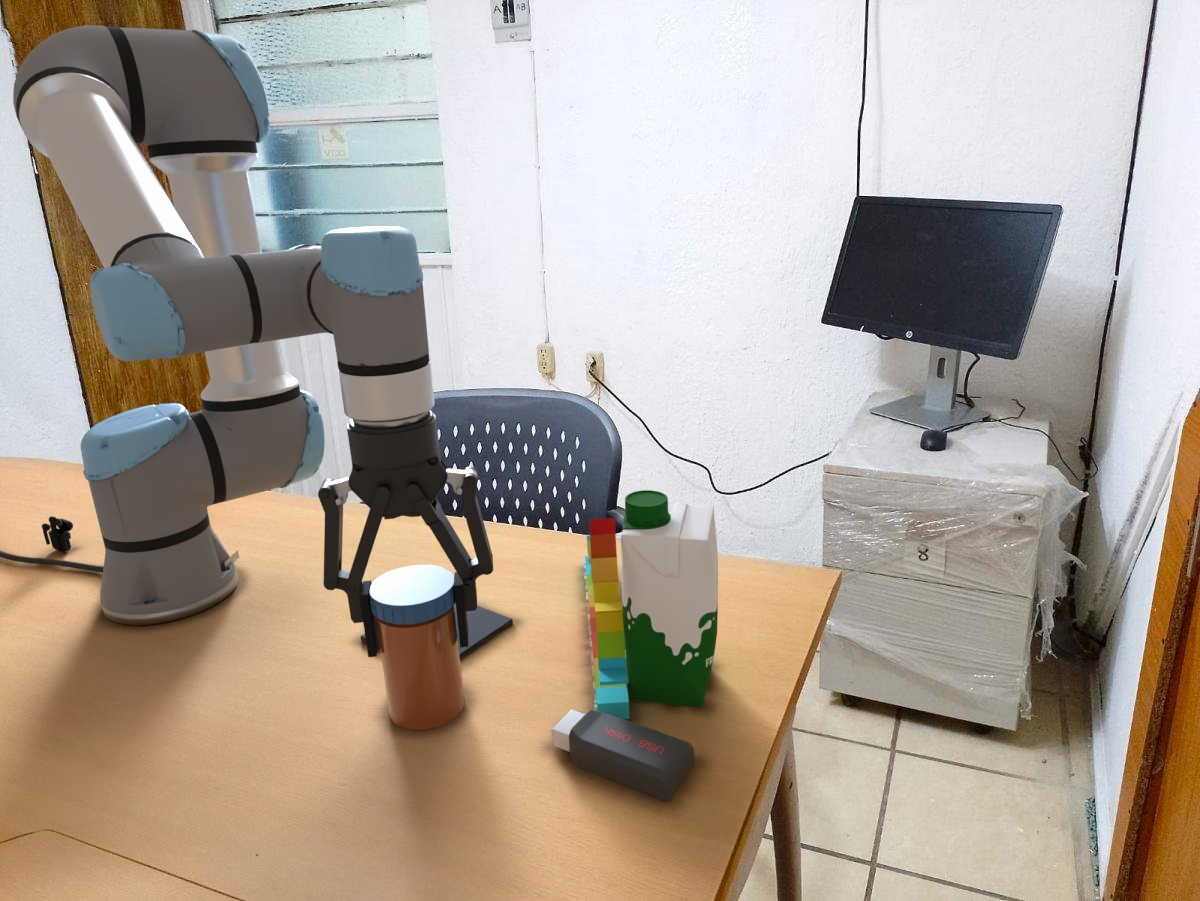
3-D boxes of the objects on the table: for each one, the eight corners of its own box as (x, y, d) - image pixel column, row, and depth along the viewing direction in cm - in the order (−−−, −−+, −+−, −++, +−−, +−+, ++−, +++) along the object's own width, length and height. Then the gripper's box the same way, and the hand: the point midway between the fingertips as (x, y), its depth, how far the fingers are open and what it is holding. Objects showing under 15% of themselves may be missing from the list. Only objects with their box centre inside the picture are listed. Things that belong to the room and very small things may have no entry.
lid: (474, 597, 78) (472, 579, 77) (408, 634, 72) (405, 615, 71) (419, 574, 82) (417, 556, 82) (353, 607, 76) (350, 589, 76)
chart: (583, 569, 106) (578, 460, 101) (608, 568, 106) (604, 458, 101) (595, 721, 78) (589, 579, 73) (629, 719, 78) (625, 577, 73)
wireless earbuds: (44, 547, 118) (35, 515, 117) (62, 540, 120) (53, 508, 119) (70, 557, 115) (61, 524, 113) (88, 550, 117) (79, 518, 115)
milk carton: (633, 654, 88) (628, 479, 81) (719, 662, 86) (722, 483, 79) (618, 706, 80) (612, 516, 73) (713, 715, 78) (715, 521, 71)
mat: (360, 640, 92) (360, 636, 92) (439, 595, 101) (439, 590, 101) (436, 675, 86) (435, 670, 85) (513, 623, 95) (512, 618, 94)
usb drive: (667, 802, 68) (667, 775, 67) (546, 754, 74) (545, 728, 73) (694, 763, 72) (695, 737, 71) (578, 721, 78) (577, 696, 77)
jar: (373, 712, 80) (356, 598, 76) (429, 676, 85) (415, 566, 81) (425, 740, 76) (409, 620, 72) (479, 699, 81) (468, 586, 77)
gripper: (509, 393, 76) (525, 612, 83) (276, 410, 73) (314, 634, 81) (513, 417, 69) (530, 654, 76) (255, 437, 66) (299, 679, 74)
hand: (419, 643), depth 78 cm, fingers closed on lid, 8 cm apart
